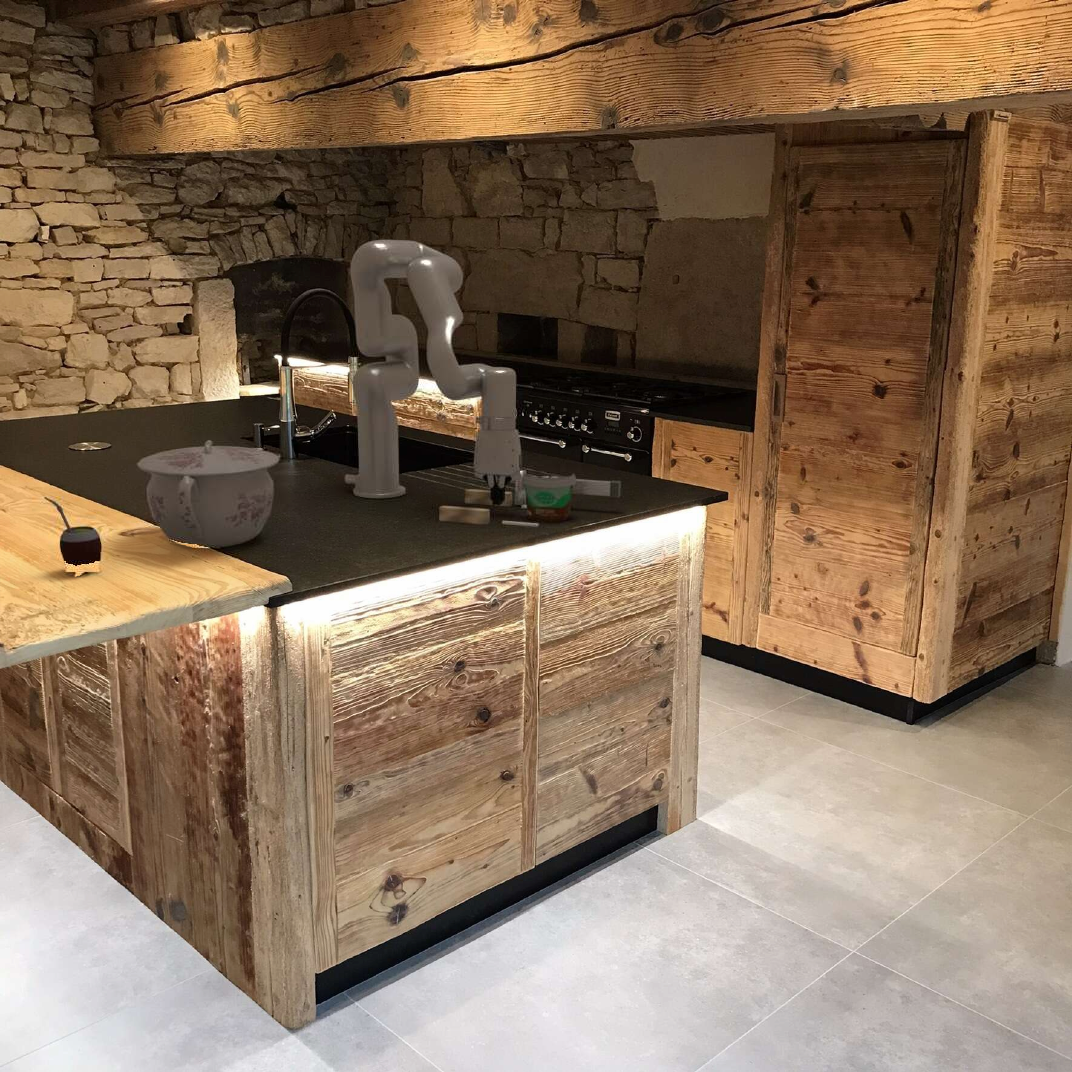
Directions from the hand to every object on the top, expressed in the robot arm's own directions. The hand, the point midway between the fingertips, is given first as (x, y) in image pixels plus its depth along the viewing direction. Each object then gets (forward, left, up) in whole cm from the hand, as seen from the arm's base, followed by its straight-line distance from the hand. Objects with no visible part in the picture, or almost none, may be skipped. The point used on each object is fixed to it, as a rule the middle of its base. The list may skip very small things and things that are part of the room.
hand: (497, 503), depth 247 cm
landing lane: (+8, 0, -2) cm, 8 cm away
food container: (+12, -1, -3) cm, 13 cm away
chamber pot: (-48, -40, -3) cm, 63 cm away
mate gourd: (-59, -67, -3) cm, 90 cm away
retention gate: (+14, +10, -2) cm, 17 cm away
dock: (-5, 0, -2) cm, 5 cm away
